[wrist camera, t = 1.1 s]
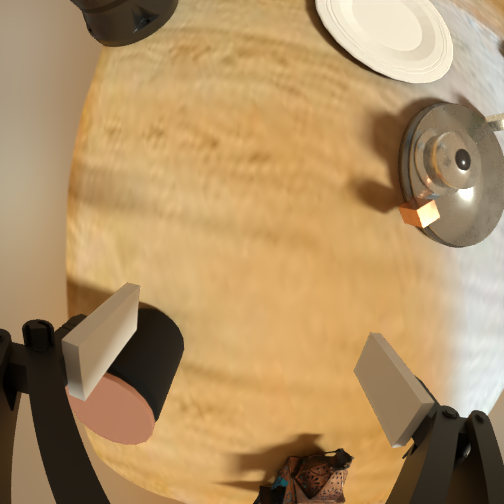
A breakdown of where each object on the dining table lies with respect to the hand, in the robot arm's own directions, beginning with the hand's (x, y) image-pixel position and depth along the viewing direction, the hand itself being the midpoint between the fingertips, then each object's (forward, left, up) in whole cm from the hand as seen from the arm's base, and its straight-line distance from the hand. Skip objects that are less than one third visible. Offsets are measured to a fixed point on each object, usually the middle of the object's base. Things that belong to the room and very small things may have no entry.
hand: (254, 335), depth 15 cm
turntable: (-16, +28, -22) cm, 40 cm away
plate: (-40, +15, -25) cm, 50 cm away
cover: (-17, +24, -21) cm, 36 cm away
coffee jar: (+17, -12, -24) cm, 32 cm away
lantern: (+46, +20, -25) cm, 56 cm away
